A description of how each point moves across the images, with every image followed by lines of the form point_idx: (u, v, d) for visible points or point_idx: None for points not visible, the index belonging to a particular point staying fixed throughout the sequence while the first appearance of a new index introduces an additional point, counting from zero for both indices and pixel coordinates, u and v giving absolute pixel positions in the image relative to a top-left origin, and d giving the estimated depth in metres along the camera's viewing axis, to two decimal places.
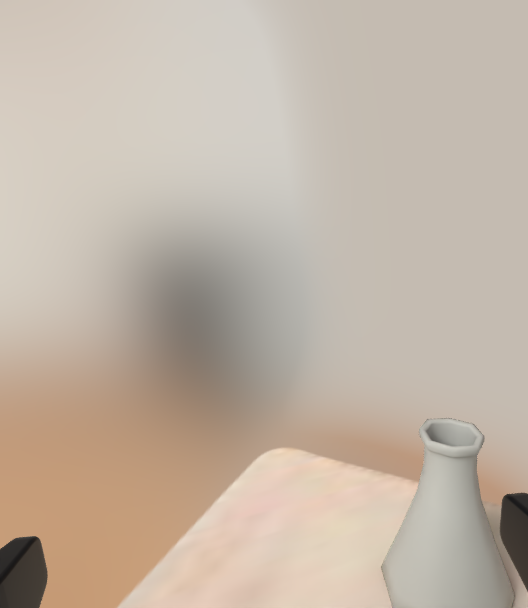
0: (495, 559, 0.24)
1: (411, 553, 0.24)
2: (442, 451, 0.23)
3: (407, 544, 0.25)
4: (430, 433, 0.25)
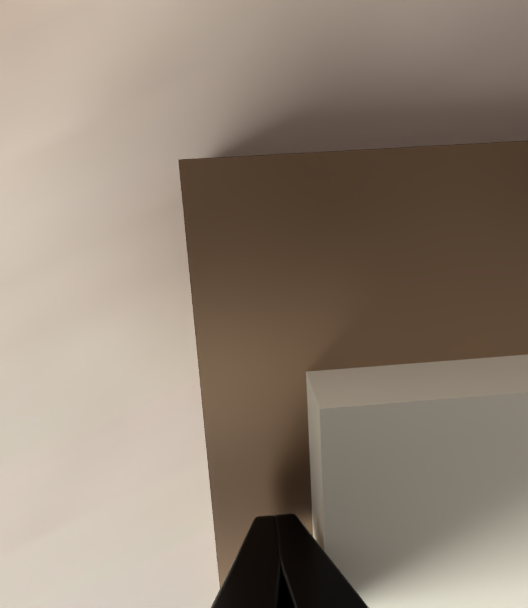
0: None
1: None
2: None
3: None
4: None
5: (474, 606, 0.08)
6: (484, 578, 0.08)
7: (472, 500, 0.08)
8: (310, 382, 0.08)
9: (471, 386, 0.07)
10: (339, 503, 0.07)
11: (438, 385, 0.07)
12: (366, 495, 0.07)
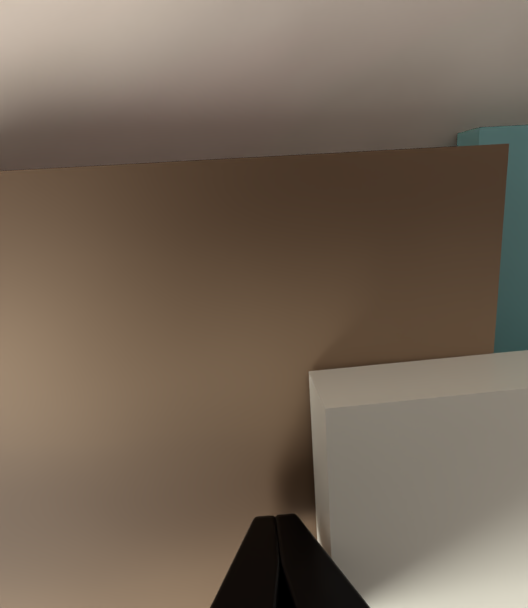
0: None
1: None
2: None
3: None
4: None
5: (481, 604, 0.08)
6: (491, 575, 0.08)
7: (478, 497, 0.07)
8: (313, 382, 0.08)
9: (476, 383, 0.07)
10: (346, 504, 0.07)
11: (442, 383, 0.07)
12: (372, 495, 0.07)
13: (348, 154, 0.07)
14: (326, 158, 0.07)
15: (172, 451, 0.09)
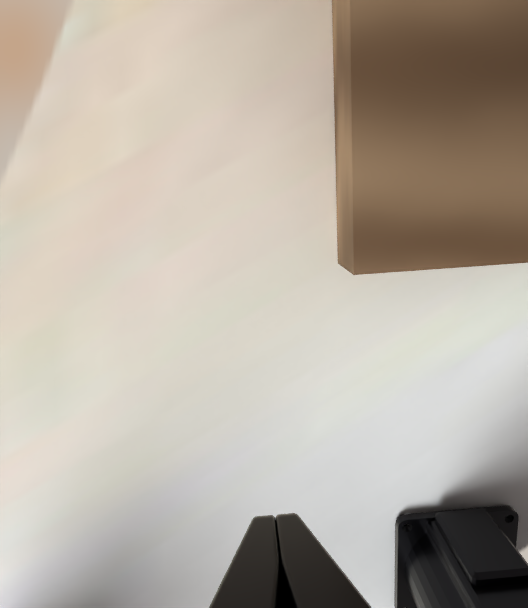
0: None
1: None
2: None
3: None
4: None
5: None
6: None
7: None
8: None
9: None
10: None
11: None
12: None
13: None
14: None
15: (511, 22, 0.16)
